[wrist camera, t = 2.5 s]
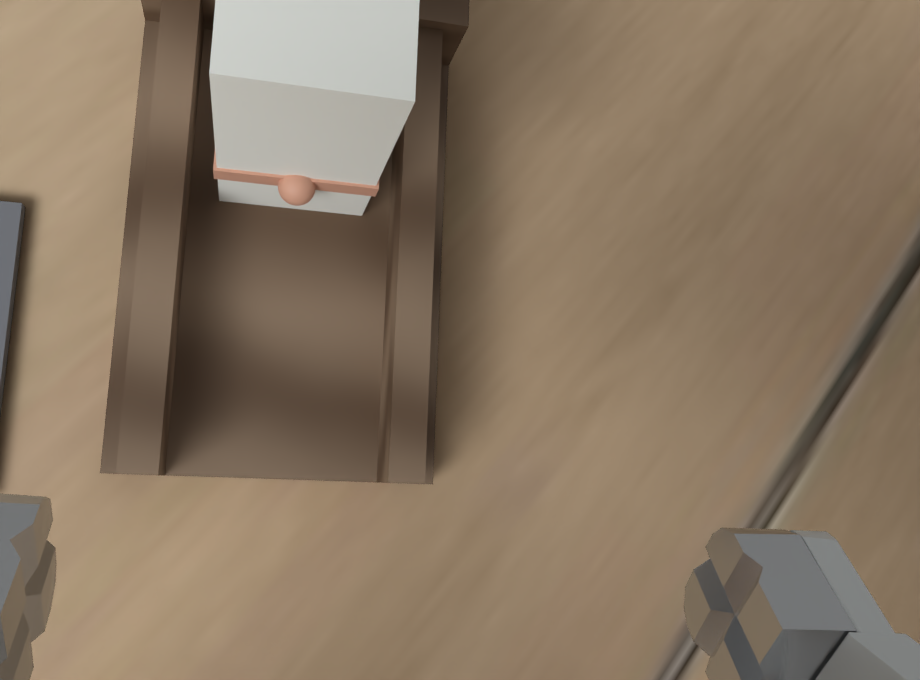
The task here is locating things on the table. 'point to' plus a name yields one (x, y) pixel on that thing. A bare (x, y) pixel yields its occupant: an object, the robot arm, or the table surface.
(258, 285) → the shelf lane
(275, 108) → the block
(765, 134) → the table surface
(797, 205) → the table surface
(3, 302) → the mat
